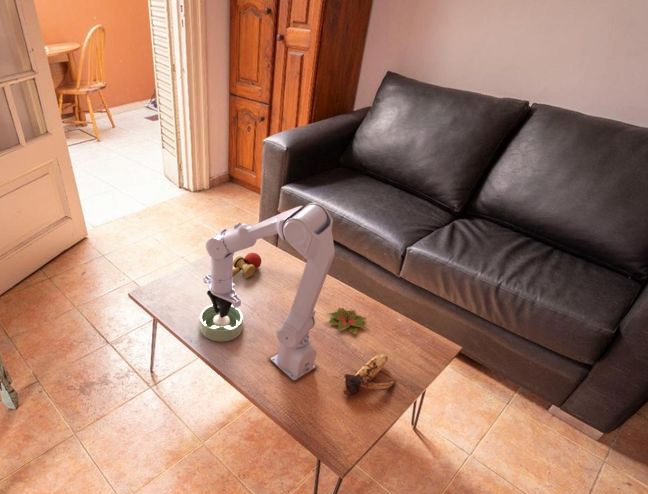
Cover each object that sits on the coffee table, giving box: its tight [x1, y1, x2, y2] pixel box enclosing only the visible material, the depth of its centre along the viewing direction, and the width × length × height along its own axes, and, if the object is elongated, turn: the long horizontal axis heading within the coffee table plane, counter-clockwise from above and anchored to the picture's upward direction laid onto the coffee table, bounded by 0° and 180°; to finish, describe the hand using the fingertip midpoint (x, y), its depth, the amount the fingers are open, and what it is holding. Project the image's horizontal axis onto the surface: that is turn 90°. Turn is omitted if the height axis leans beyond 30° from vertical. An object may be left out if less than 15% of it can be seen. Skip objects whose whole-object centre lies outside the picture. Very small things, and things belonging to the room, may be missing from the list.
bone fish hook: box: [343, 353, 395, 398], centre depth 109 cm, size 9×5×18 cm
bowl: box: [199, 304, 244, 342], centre depth 124 cm, size 12×12×4 cm
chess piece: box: [213, 306, 230, 327], centre depth 120 cm, size 5×5×10 cm
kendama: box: [232, 252, 262, 278], centre depth 144 cm, size 8×6×18 cm
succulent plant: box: [327, 306, 367, 336], centre depth 127 cm, size 12×12×5 cm
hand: (221, 313), depth 122 cm, fingers closed on chess piece
